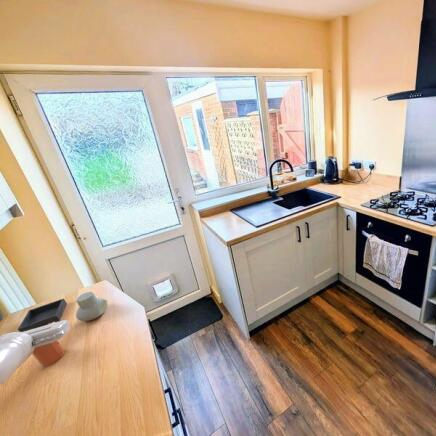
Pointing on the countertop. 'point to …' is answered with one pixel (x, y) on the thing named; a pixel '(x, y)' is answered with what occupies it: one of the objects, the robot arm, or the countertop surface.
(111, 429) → the countertop surface
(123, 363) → the countertop surface
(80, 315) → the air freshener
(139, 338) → the countertop surface
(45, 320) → the tray
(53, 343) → the tumbler
